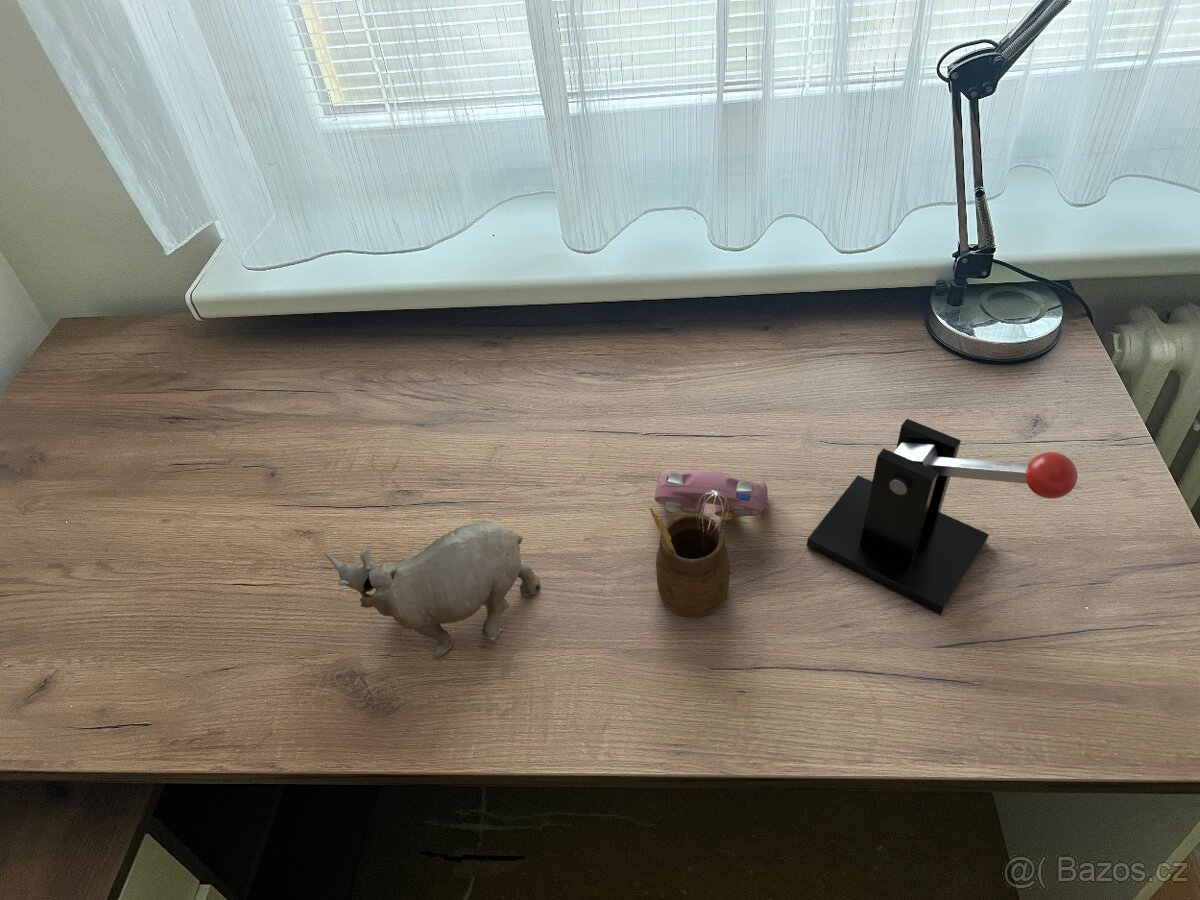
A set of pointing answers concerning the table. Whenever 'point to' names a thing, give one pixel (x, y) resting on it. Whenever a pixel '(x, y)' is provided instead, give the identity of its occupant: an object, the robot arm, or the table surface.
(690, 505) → the pink toy car
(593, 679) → the table surface
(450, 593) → the rhinoceros figurine
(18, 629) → the table surface
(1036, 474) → the lever
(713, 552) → the utensil holder
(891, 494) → the bracket
